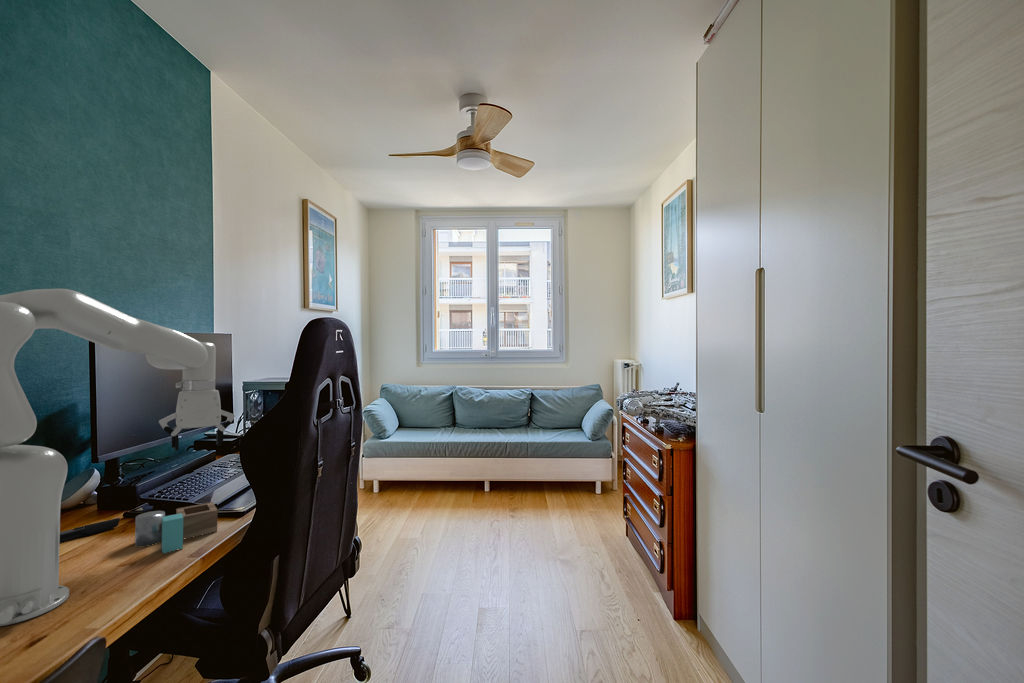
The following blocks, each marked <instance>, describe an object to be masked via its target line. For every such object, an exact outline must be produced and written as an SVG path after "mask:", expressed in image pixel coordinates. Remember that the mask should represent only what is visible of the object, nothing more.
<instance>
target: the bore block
mask: <svg viewBox="0 0 1024 683" xmlns="http://www.w3.org/2000/svg"><path fill="white" fill-rule="evenodd" d="M175 510H176V511H175V514H180V513H182V515H183V540H185V539H184V538H188V539H190V538H189V537H192V538H194V537H193V536H196V537H199V536H198V535H201V536H203V535H202V534H205V535H208V533H209V534H213V533H212V532H214V533H217V532H218V512H219V511H218V508H217V507H216V505H215V503H214V501H210V502H205V503H199V504H196V505H190V506H184V507H178V508H176V509H175ZM216 531H217V532H216Z"/></svg>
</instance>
